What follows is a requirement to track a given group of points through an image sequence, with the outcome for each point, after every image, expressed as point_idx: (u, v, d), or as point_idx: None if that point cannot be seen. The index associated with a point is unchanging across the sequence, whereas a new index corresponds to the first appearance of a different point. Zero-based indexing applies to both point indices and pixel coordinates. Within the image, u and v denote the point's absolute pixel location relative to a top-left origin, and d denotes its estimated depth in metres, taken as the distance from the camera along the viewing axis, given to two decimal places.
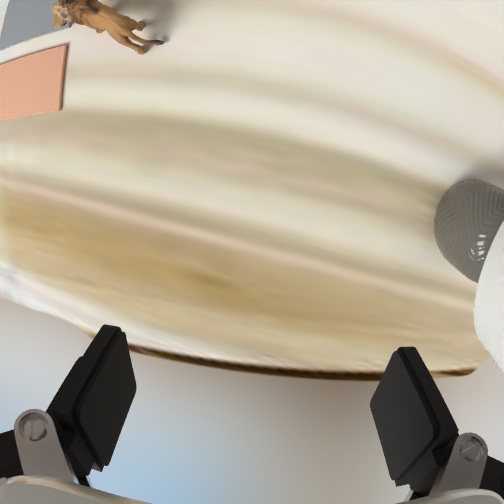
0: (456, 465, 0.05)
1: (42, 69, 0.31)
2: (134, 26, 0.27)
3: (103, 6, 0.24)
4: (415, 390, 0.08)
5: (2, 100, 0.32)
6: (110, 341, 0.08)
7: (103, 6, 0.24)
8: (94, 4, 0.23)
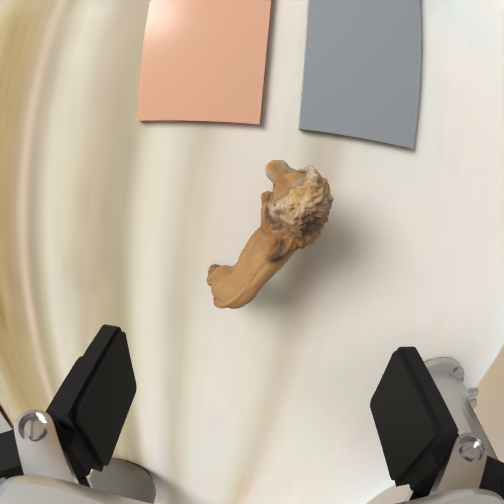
0: (456, 465, 0.05)
1: (223, 74, 0.21)
2: None
3: (283, 263, 0.21)
4: (415, 390, 0.08)
5: None
6: (110, 341, 0.08)
7: (284, 262, 0.21)
8: (293, 251, 0.21)
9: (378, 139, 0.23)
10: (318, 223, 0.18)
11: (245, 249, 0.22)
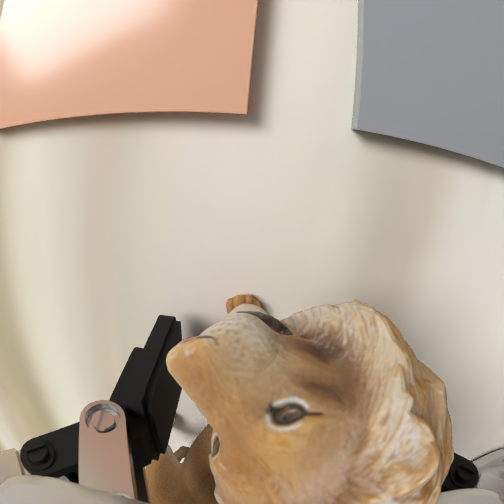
0: None
1: None
2: None
3: None
4: None
5: None
6: (169, 330, 0.09)
7: None
8: None
9: None
10: None
11: (188, 470, 0.07)
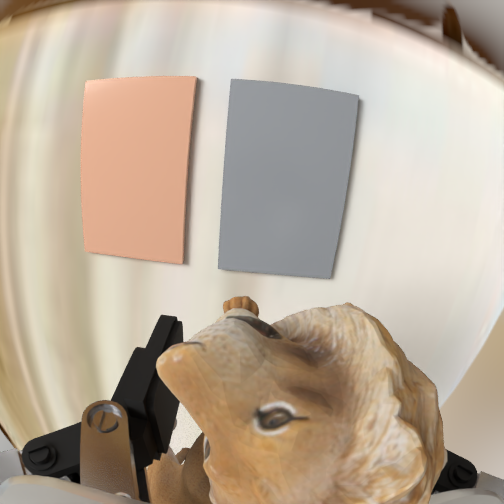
0: None
1: (148, 219, 0.26)
2: None
3: None
4: None
5: (116, 111, 0.22)
6: (171, 330, 0.09)
7: None
8: None
9: (293, 274, 0.27)
10: None
11: (187, 471, 0.07)
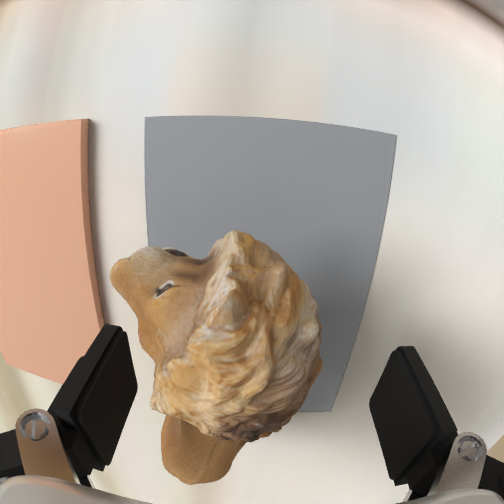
0: (455, 465, 0.05)
1: (60, 344, 0.15)
2: None
3: None
4: (414, 389, 0.08)
5: None
6: (111, 341, 0.08)
7: None
8: None
9: None
10: (288, 410, 0.06)
11: None
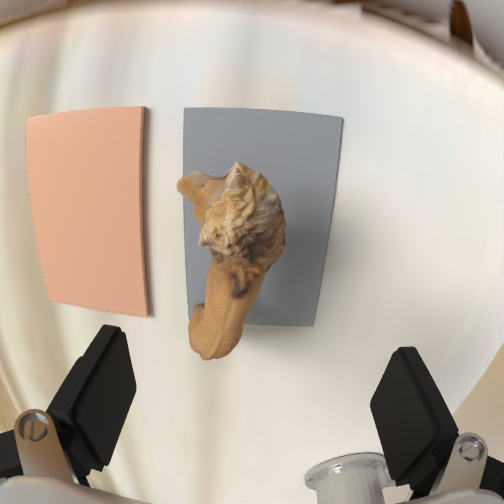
0: (456, 465, 0.05)
1: (106, 271, 0.22)
2: None
3: (255, 293, 0.17)
4: (415, 390, 0.08)
5: (59, 152, 0.18)
6: (110, 341, 0.08)
7: (256, 290, 0.17)
8: (258, 276, 0.16)
9: (270, 323, 0.24)
10: (266, 239, 0.13)
11: None
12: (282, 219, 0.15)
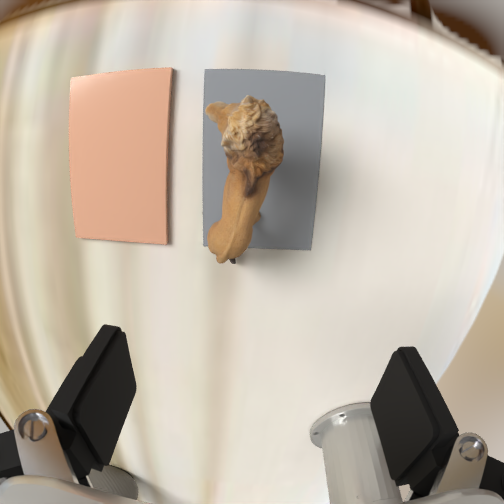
0: (456, 465, 0.05)
1: (133, 202, 0.27)
2: None
3: (262, 196, 0.21)
4: (415, 390, 0.08)
5: (99, 104, 0.23)
6: (110, 341, 0.08)
7: (263, 194, 0.21)
8: (264, 179, 0.20)
9: (274, 247, 0.29)
10: (269, 139, 0.17)
11: (223, 196, 0.22)
12: (280, 135, 0.19)
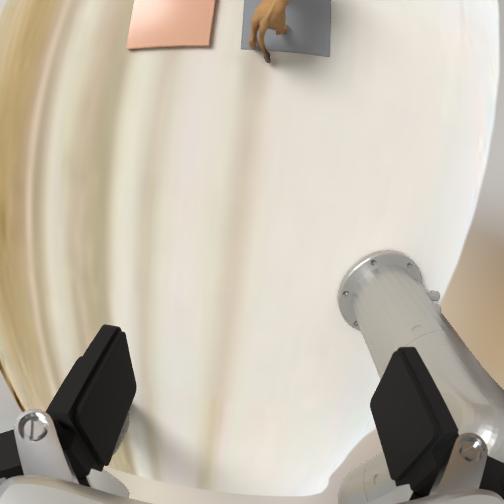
0: (456, 465, 0.05)
1: (185, 16, 0.27)
2: (275, 29, 0.25)
3: None
4: (415, 390, 0.08)
5: None
6: (110, 341, 0.08)
7: None
8: None
9: (299, 51, 0.29)
10: None
11: None
12: None
